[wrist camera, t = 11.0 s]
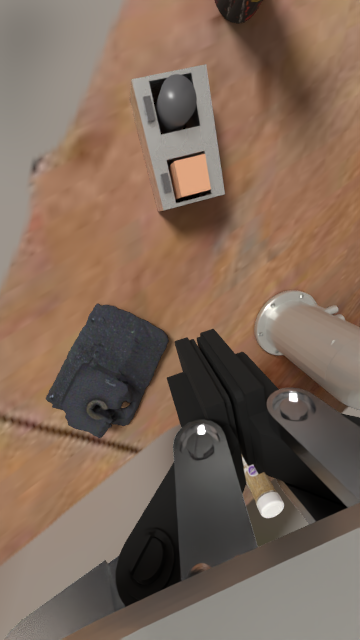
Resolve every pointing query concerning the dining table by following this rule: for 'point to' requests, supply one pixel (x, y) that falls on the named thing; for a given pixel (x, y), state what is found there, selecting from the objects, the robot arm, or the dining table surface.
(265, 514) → the sprinkles bottle
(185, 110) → the knob round
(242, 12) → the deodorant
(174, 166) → the button square
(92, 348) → the dark slate chunk
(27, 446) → the dining table surface
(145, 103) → the mount
